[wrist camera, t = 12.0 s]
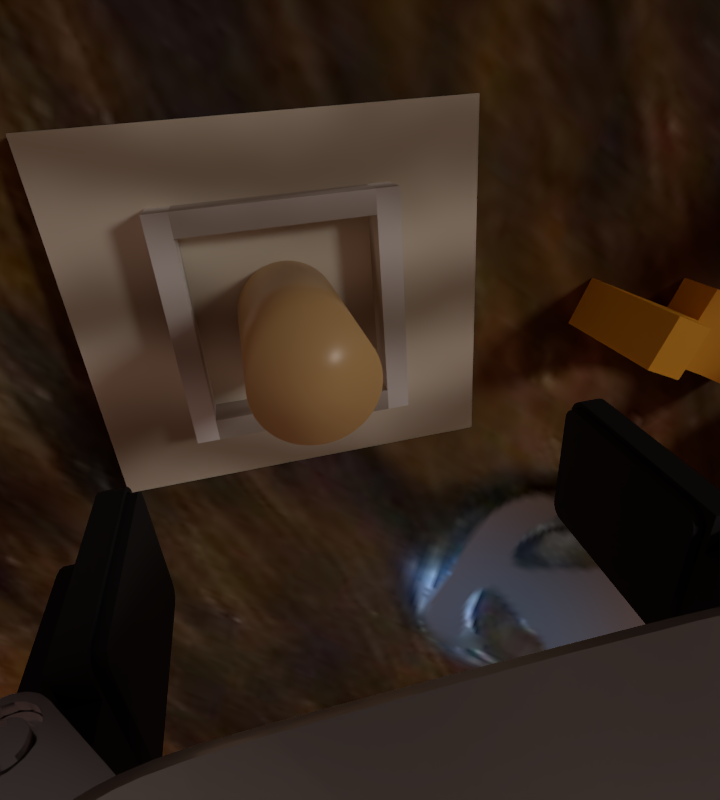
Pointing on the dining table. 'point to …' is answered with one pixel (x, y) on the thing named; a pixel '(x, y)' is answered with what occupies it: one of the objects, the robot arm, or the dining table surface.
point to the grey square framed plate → (259, 265)
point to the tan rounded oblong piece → (304, 356)
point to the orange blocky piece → (656, 327)
